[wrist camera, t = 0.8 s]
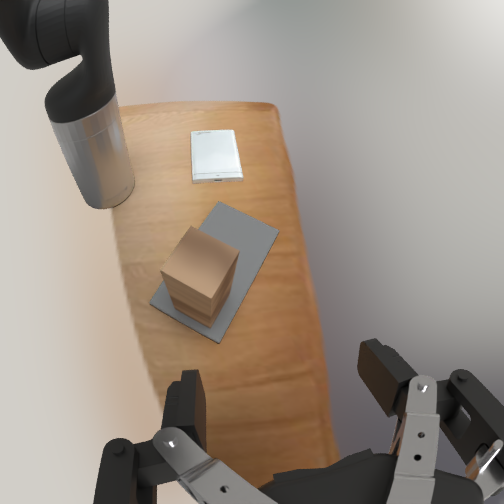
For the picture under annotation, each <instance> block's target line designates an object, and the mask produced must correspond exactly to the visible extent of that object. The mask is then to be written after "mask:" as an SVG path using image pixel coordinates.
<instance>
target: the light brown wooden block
mask: <svg viewBox="0 0 504 504" xmlns="http://www.w3.org/2000/svg"><path fill="white" fill-rule="evenodd" d="M239 252H240V251H239V250H237V249H235V248H233V247H231V246H229V245H227V244H226V243H224V242H222V241H220V240H218V239H216V238H214V237H212V236H210V235H208V234H206V233H204V232H202V231H200V230H198V229H196V228H194V227H192V226H190V228H189V229H188V231H187V232H186V233H185V235H184V236H183V238H182V239H181V240H180V242H179V243H178V245H177V246H176V247H175V249H174V250H173V252H172V253H171V255H170V256H169V257H168V259H167V260H166V262H165V263H164V265H163V266H162V268H161V269H160V271H161V274H162V277H163V279H164V282H165V285H166V287H167V290H168V293H169V295H170V298H171V300H172V303H173V305H174V308H175V309H176V310H178V311H179V312H181V313H183V314H185V315H186V316H188V317H190V318H192V319H193V320H195V321H197V322H199V323H201V324H202V325H204V326H206V327H208V328H210V329H211V327H212V325H213V324H214V322H215V320H216V318H217V316H218V315H219V313H220V311H221V309H222V308H223V306H224V304H225V302H226V300H227V299H228V297H229V295H230V291H231V287H232V282H233V278H234V274H235V269H236V265H237V261H238V256H239Z"/></svg>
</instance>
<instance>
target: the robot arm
mask: <svg viewBox="0 0 504 504" xmlns="http://www.w3.org/2000/svg"><path fill="white" fill-rule="evenodd" d="M0 38H1V39H2V41H3V42H4V44H5V45H6V47H7V48H8V50H9V51H10V53H11V54H12V55H13V57H14V58H15V59H16V61H17V62H18V63H19V64H21V65H22V66H23V67H25V68H26V69H30V70H35V69H40V68H44V67H47V66H49V65H52V64H55V63H57V62H60V61H63V60H66V59H69V58H72V57H75V56H77V55H81V56H82V58H83V60H82V62H81V63H80V64H79V65H78V66H77V67H76V68H75V69H73V70H72V71H71V72H70V73H68V74H67V75H66V76H64V77H63V78H61V79H60V80H59V81H58V82H57V83H56V84H55V85H53V87H51V89H50V90H49V91H48V93H47V95H46V97H45V108H46V111H47V114H48V117H49V119H50V122H51V125H52V127H53V130H54V133H55V135H56V137H57V140H58V142H59V145H60V147H61V149H62V152H63V154H64V156H65V159H66V161H67V163H68V166H69V168H70V170H71V172H72V174H73V177H74V179H75V181H76V183H77V185H78V187H79V189H80V192H81V194H82V195H83V198H84V199H85V201H86V203H87V204H88V205H89V206H91V207H93V208H96V209H107V208H111V207H114V206H116V205H118V204H120V203H121V202H123V201H124V200H125V199H126V198H127V197H128V196H129V195H130V193H131V192H132V190H133V187H134V183H135V180H134V175H133V171H132V167H131V163H130V158H129V154H128V150H127V145H126V141H125V136H124V132H123V127H122V122H121V117H120V112H119V107H118V102H117V97H116V91H115V84H114V78H113V73H112V66H111V58H110V48H109V6H108V0H0ZM357 368H358V373H359V376H360V377H361V379H362V380H363V382H364V383H365V384H366V386H367V387H368V389H369V390H370V392H371V393H372V395H373V396H374V397H375V399H376V400H377V402H378V403H379V405H380V406H381V408H382V409H383V411H384V412H385V414H386V415H387V416H388V417H390V416H393V415H397V416H398V419H397V422H396V426H395V431H394V435H393V439H392V443H391V447H390V450H389V453H388V454H386V453H378V454H373V453H372V451H371V449H367V450H364V451H362V452H359V453H355V454H352V455H349V456H347V457H345V458H344V459H342V460H340V461H338V462H336V463H334V464H333V465H331V466H329V467H327V468H318V469H297V470H293V471H288V472H282V473H277V474H273V479H274V480H273V481H270V482H268V483H266V484H264V485H262V486H261V487H259V488H258V489H256V488H255V487H254V486H252V485H251V484H250V483H248V482H247V481H246V480H244V479H243V478H242V477H240V476H239V475H238V474H236V473H235V472H234V471H233V470H231V469H230V468H229V467H228V466H227V465H225V464H224V463H223V462H222V461H220V460H219V459H217V458H215V459H213V458H211V457H210V456H209V455H208V454H207V453H206V398H205V393H204V389H203V385H202V381H201V377H200V374H199V370H198V369H197V370H184V371H182V376H181V381H174V382H172V384H171V385H170V386H169V388H168V389H167V395H166V401H165V407H164V413H163V420H162V426H161V430H159V431H158V432H157V433H156V434H155V435H154V437H153V439H151V440H149V441H146V442H141V443H137V444H132V443H131V442H130V441H129V440H127V439H124V438H117V439H113V440H111V441H109V442H108V443H107V444H106V445H105V447H104V449H103V454H102V458H101V463H100V468H99V473H98V478H97V484H96V489H95V495H94V503H93V504H157V485H159V484H163V483H167V482H171V481H175V480H176V481H177V482H178V483H179V484H180V485H181V486H182V487H183V488H184V489H185V490H186V491H187V492H188V493H189V494H190V495H191V496H192V497H193V498H194V499H195V500H196V501H197V502H198V503H199V504H484V500H485V499H487V498H488V497H489V496H495V495H497V494H499V493H500V492H501V491H502V490H503V489H504V406H503V405H502V404H501V403H500V402H499V401H498V400H497V399H496V398H495V397H494V396H493V395H492V394H491V393H490V391H488V389H486V387H485V386H483V384H482V383H481V382H480V381H479V380H478V379H477V378H476V377H475V376H474V375H473V374H472V373H470V372H469V371H467V370H463V369H458V370H455V371H453V372H452V373H451V375H450V378H449V379H448V380H443V381H435V380H434V379H433V378H431V377H429V376H426V375H418V374H417V373H416V372H415V371H414V370H413V369H412V368H411V367H410V365H409V364H408V363H407V362H406V361H404V359H403V358H402V357H401V356H399V354H398V353H397V352H396V351H395V350H394V349H393V348H391V347H389V346H387V345H384V346H383V345H382V344H381V343H380V342H379V341H378V340H377V339H375V338H374V339H370V340H366V341H363V342H361V344H360V350H359V357H358V365H357ZM462 407H464V409H465V410H466V411H467V412H468V414H469V415H470V417H471V421H470V420H469V418H468V417H467V416H466V415H465V414H464V412H463V411H462V410H461V409H462ZM439 427H440V428H441V429H442V431H443V432H444V433H445V435H446V436H447V438H448V439H449V441H450V442H451V444H452V445H453V446H454V448H455V450H456V451H457V452H458V454H459V455H460V456H461V458H462V460H463V461H464V463H465V464H466V471H465V472H466V477H462V476H458V475H454V474H451V473H447V472H443V471H440V470H437V469H435V462H436V455H437V446H438V436H439Z"/></svg>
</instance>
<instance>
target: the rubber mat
mask: <svg viewBox="0 0 504 504" xmlns="http://www.w3.org/2000/svg"><path fill="white" fill-rule="evenodd" d="M198 230H200V231H202V232H204V233H206V234H208V235H210V236H212V237H214V238H216V239H218V240H220V241H222V242H224V243H226V244H227V245H229V246H231V247H233V248H235V249H237V250H239V251H240V252H239V256H238V261H237V265H236V269H235V274H234V278H233V282H232V287H231V291H230V295H229V297H228V299H227V300H226V302H225V304H224V306H223V308H222V309H221V311H220V313H219V315H218V316H217V318H216V320H215V322H214V324H213V325H212V327H211V329H210V328H208V327H206V326H204V325H202V324H201V323H199V322H197V321H195V320H193V319H192V318H190V317H188V316H186V315H185V314H183V313H181V312H179V311H178V310H176V309H175V308H174V305H173V303H172V300H171V298H170V295H169V293H168V290H167V287H166V285H165V282H164V280H163V282H162V283H161V285H160V286H159V288H158V290H157V291H156V293H155V294H154V296H153V297H152V299H151V300H150V302H149V303H150V305H152V306H154V307H155V308H157V309H159V310H160V311H162V312H164V313H165V314H167V315H169V316H170V317H172V318H174V319H175V320H177V321H179V322H181V323H182V324H184V325H186V326H188V327H189V328H191V329H193V330H195V331H196V332H198V333H200V334H202V335H204V336H205V337H207V338H209V339H211V340H213V341H215V342H217V343H220V341H221V340H222V338H223V336H224V334H225V332H226V330H227V328H228V327H229V325H230V323H231V321H232V319H233V317H234V316H235V314H236V312H237V310H238V308H239V306H240V304H241V303H242V301H243V299H244V297H245V295H246V293H247V291H248V290H249V288H250V286H251V284H252V282H253V280H254V278H255V276H256V275H257V273H258V271H259V269H260V267H261V265H262V263H263V261H264V259H265V258H266V256H267V254H268V252H269V250H270V248H271V246H272V244H273V242H274V241H275V239H276V237H277V235H278V233H279V230H277V229H275V228H273V227H271V226H269V225H267V224H265V223H263V222H261V221H259V220H257V219H255V218H253V217H251V216H249V215H247V214H244V213H242V212H240V211H238V210H236V209H234V208H232V207H230V206H228V205H226V204H224V203H222V202H219V201H218V203H217V204H216V206H215V207H214V208H213V210H212V211H211V212H210V214H209V215H208V217H207V218H206V219H205V221H204V222H203V224H202V225H201V226H200V228H199V229H198Z"/></svg>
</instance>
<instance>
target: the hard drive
mask: <svg viewBox="0 0 504 504" xmlns="http://www.w3.org/2000/svg"><path fill="white" fill-rule="evenodd" d="M191 159H192V179H193V184H195V183H211V182H232V181H243V174H242V169H241V164H240V159H239V153H238V148H237V144H236V138H235V133H234V130H209V131H193V132H191Z"/></svg>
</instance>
